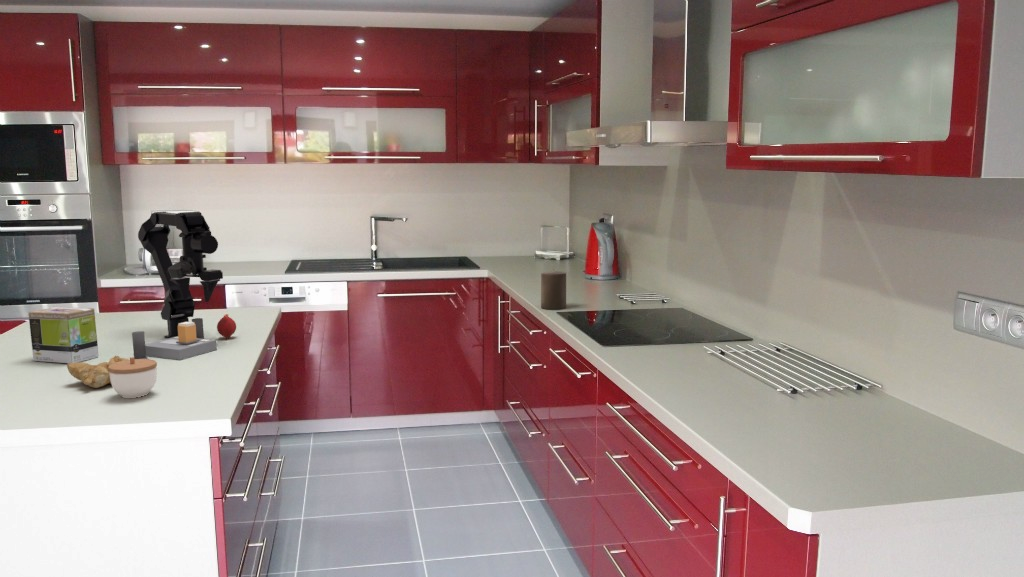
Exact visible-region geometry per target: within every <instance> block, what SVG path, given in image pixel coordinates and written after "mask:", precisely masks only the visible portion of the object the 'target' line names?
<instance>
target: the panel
mask: <svg viewBox="0 0 1024 577" xmlns="http://www.w3.org/2000/svg"><path fill="white" fill-rule="evenodd" d="M197 340H200V341H198V342H194V343H190V344H179V343H176V342H177V341H179V339H178V336H176V337H172V338H165V339H160V340H156V341H152V342H148V343H145V348H146V356H147V357H152V356H153V358H160V357H161V358H160V359H168V358H169V360H178V361H182V360H185V359H189V358H193V357H196V355H197V356H200V355H203V353H204V354H206V353H211V352H214V350H215V351H217V350H218V348H217V347H218V346H217V345H218V344H217V339H208V338H204V339H200V338H197Z"/></svg>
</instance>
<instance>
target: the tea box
mask: <svg viewBox="0 0 1024 577" xmlns="http://www.w3.org/2000/svg"><path fill="white" fill-rule="evenodd" d="M28 320H29V329H30V331H29V332H30V340H31V349H32V358H33V361H35V362H45V363H61V364H69V363H75V362H85V361H88V360H92V359H96V358H99V347H98V334H97V324H96V314H95V309H94V307H93V308H92V307H91V308H90V307H65V306H53V307H49V308H48V307H47V308H43V309H37V310H34V311H29V312H28Z"/></svg>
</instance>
